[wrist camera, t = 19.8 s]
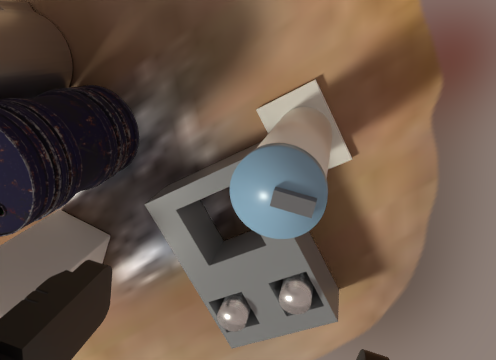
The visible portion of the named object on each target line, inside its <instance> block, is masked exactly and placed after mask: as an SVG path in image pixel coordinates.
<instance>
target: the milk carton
mask: <svg viewBox="0 0 496 360" xmlns="http://www.w3.org/2000/svg"><path fill="white" fill-rule="evenodd" d="M109 239H110V235H108V234H107V233H105V232H103V231H101V230H99V229H97V228H95V227H93V226H91V225H89V224H87V223H85V222H83V221H81V220H79V219H77V218H75V217H73V216H71V215H69V214H68V213H66V212H64V211H61V210H59V211H57V212H55V213H54V214H52V215H50V216H49V217H47V218H45V219H44V220H42V221H40V222H39V223H37V224H35V225H34V226H32V227H30V228H29V229H27V230H25V231H24V232H22V233H20V234H19V235H17V236H15V237H14V238H12V239H10V240H9V241H7V242H5V243H4V244H2V245H0V318H1V317H2V316H3V315H5V314H6V313H7V312H8V311H9V310H11V309H12V308H13V307H14V306H15V305H17V304H18V303H19V302H20V301H21V300H24V299H25V297H26V296H28V295H29V294H30V293H31V292H32V291H35V290H36V288H37V287H38V286H40V285H41V284H42V283H43V282H44V281H46V280H47V279H48V278H49V277H52V276H54V275H56V274H58V273H61V272H63V271H65V270H68V271H71V272H73V271H74V270H75V269H76V268H78V267H79V266H80V265H81V264H82V263H83V262H85V261H86V260H92V261H95V262H98V263H101V264H102V263H103V260H104V256H105V253H106V250H107V246H108V243H109Z"/></svg>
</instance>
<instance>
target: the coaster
mask: <svg viewBox="0 0 496 360" xmlns="http://www.w3.org/2000/svg"><path fill="white" fill-rule="evenodd" d="M298 107H311V108H314V109H317V110H319V111H320V112H322V113H323V114H324V115H325V116H326V117H327V119H328V120H329V122H330V124H331V127H332V133H333V136H332V144H331V151H330V158H329V165H328V169H330V168H333V167H335V166H338V165H340V164H342V163H345V162H347V161H350V160H352V156H351V154H350V152H349V150H348V148H347V146H346V144H345V141H344V139H343V137H342V135H341V133H340V131H339V128H338V126H337V124H336V122H335V120H334V118H333V115H332V113H331V111H330V109H329V107H328V105H327V102H326V100H325V98H324V96H323V94H322V92H321V89H320V87H319V85H318V83H317V81H316V79H315V80H313V81H311V82H309V83H307V84H305V85H303V86H301V87H299V88H297V89H295V90H293V91H291V92H289V93H287V94H285V95H283V96H281V97H279V98H278V99H276V100H274V101H272V102H270V103H268V104H266V105H264V106H262V107H260V108H258V109H256V110H257V112H258V114H259V116H260V118H261V120H262V122H263V124H264V126H265V128H266V130H267V132H268V134H269V133H270V131H271V130H272V129H273V128H274V126H275V125H276V124H277V123H278V122H279V120H280V119H281V118H282V117H283V116H284V115H285V114H286V113H287V112H288V111H290V110H292V109H294V108H298Z"/></svg>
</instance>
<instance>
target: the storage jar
mask: <svg viewBox="0 0 496 360" xmlns="http://www.w3.org/2000/svg"><path fill="white" fill-rule="evenodd" d="M138 144H139V132H138V126H137V123H136V120H135V117H134V115H133V113H132V111H131V110H130V108H129V107H128V105H127V104H126V103H125V102H124V101H123V100H122V99H121V98H120V97H119V96H118V95H117V94H115V93H114V92H112V91H110V90H108V89H106V88H104V87H100V86H94V85H87V86H81V87H68V88H63V89H58V90H50V91H46V92H44V93H42V94H40V95H38V96H36V97H35V98H31V99H21V98H5V99H1V100H0V236H7V235H10V234H13V233H15V232H17V231H18V230H20V229H22V228H23V227H25V226H27V225H28V224H30V223H32V222H34V221H37V220H39V219H42V218H43V217H45V216H47V215H48V214H50V213H52V212H53V211H55V210H56V209H59V208H61V207H62V206H64V205H65V204H66V203H67V202H68V201H69V200H70V199H71V198H72V197H73V196H74V195H75V194H76V193H78V192H80V191H83V190H88V189H90V188H94V187H96V186H98V185H100V184H101V183H103V182H104V181H106V180H107V179H109V178H111V177H112V176H114V175H115V174H116V173H117V172H118V171H120V170H122V169H123V168H125V167H127V166H128V165H129V164H130V163H131V161H132V160H133V159H134V157H135V155H136V153H137V149H138Z"/></svg>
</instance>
